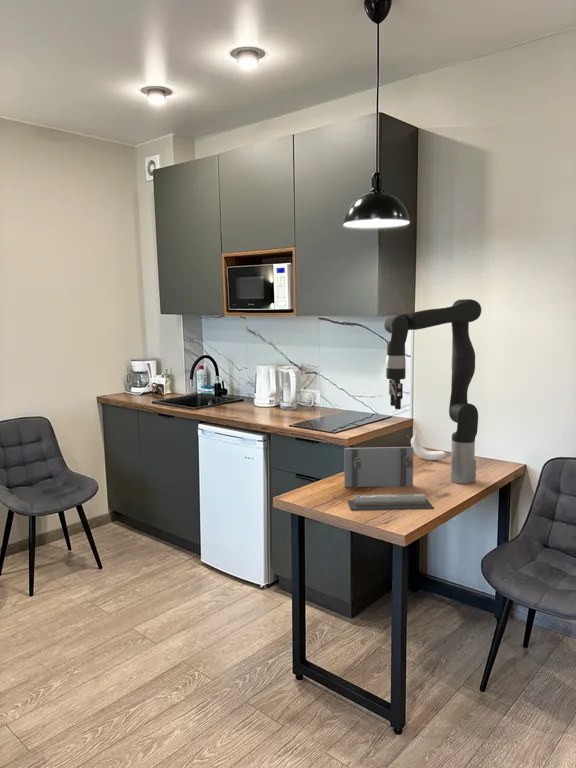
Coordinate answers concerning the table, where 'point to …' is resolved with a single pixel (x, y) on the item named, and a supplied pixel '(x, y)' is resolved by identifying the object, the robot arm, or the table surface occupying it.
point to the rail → (389, 499)
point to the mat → (389, 506)
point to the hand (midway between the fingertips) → (395, 407)
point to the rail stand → (378, 466)
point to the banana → (425, 453)
